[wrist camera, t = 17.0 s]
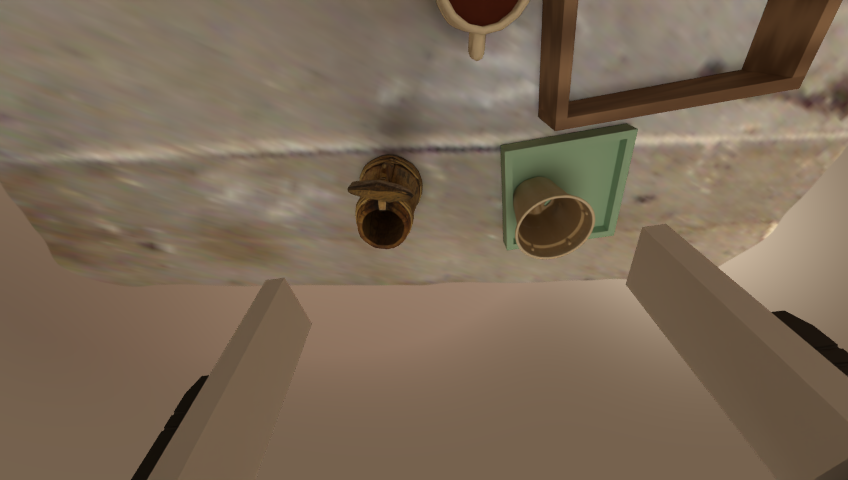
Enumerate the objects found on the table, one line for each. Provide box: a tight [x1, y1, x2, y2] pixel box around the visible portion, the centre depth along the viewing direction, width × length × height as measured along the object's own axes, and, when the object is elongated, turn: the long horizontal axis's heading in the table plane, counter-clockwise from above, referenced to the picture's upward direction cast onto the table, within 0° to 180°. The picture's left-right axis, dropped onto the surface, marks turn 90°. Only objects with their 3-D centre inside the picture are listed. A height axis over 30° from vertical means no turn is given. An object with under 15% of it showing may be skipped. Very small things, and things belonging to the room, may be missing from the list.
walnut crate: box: [538, 0, 842, 131], centre depth 30 cm, size 18×24×6 cm
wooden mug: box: [348, 155, 422, 249], centre depth 36 cm, size 9×14×18 cm, turn 174°
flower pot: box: [513, 177, 595, 259], centre depth 41 cm, size 9×9×9 cm
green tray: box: [501, 123, 638, 250], centre depth 44 cm, size 16×16×2 cm
